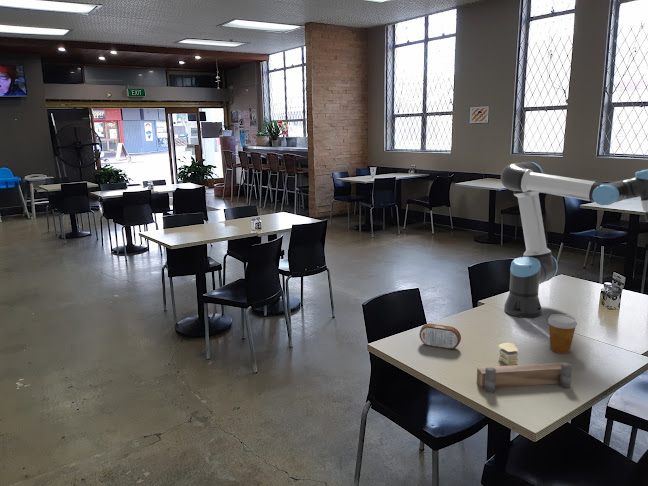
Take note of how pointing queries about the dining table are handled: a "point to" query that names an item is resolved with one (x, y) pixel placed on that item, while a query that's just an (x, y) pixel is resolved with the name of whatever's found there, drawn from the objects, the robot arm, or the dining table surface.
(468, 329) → the dining table surface
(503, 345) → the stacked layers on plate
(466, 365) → the dining table surface
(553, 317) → the disposable coffee cup
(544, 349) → the dining table surface
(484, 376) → the bar
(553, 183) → the robot arm
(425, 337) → the tin
